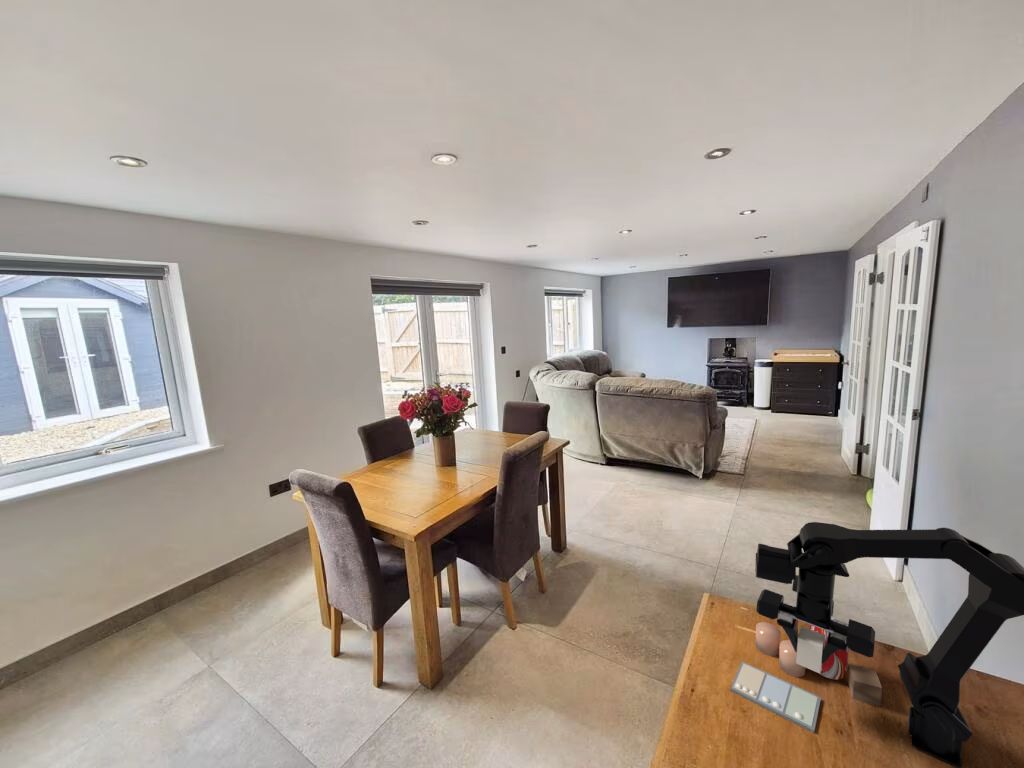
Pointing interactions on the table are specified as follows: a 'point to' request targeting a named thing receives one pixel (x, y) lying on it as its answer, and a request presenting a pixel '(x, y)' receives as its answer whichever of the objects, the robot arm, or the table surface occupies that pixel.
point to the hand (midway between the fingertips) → (809, 656)
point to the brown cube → (864, 685)
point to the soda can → (833, 659)
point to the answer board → (777, 695)
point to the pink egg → (789, 660)
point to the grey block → (810, 649)
